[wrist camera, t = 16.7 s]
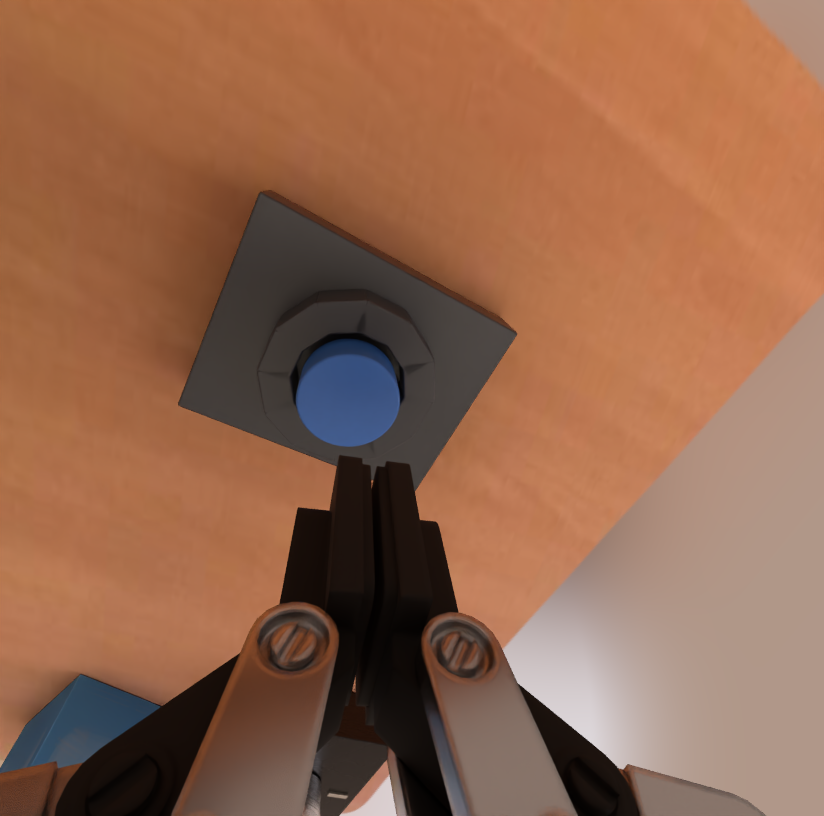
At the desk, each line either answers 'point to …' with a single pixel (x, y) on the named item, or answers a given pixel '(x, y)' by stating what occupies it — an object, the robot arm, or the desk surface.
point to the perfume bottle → (76, 725)
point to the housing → (338, 337)
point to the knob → (313, 797)
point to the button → (348, 393)
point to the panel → (348, 760)
